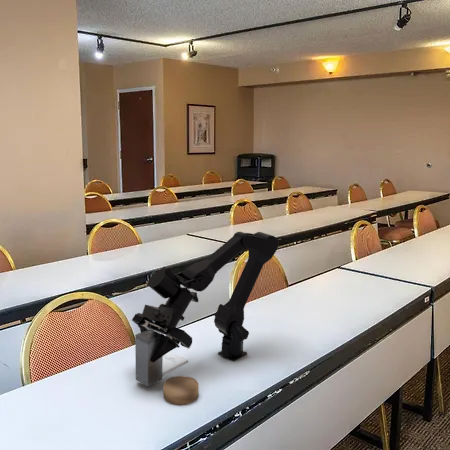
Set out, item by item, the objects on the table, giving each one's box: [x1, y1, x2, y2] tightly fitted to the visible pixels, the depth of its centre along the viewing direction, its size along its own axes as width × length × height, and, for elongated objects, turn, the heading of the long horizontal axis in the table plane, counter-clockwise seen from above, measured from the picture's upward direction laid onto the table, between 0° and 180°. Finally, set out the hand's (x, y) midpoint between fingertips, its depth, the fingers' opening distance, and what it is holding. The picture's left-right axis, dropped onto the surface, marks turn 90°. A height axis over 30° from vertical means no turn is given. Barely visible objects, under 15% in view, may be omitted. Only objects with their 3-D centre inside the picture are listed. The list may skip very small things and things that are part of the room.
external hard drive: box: [162, 351, 189, 377], centre depth 147 cm, size 2×8×12 cm
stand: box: [162, 375, 200, 406], centre depth 131 cm, size 9×9×3 cm
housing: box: [134, 329, 163, 387], centre depth 134 cm, size 5×5×13 cm
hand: (144, 358), depth 133 cm, fingers closed on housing, 5 cm apart
